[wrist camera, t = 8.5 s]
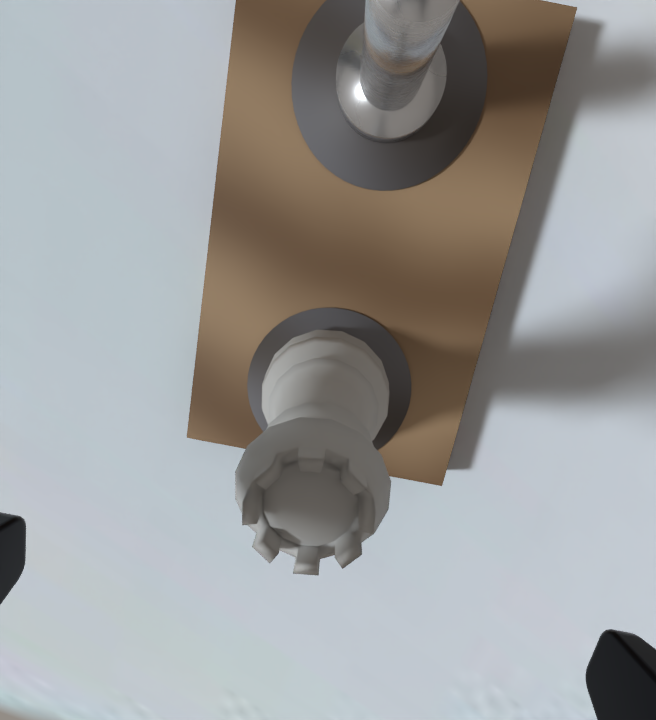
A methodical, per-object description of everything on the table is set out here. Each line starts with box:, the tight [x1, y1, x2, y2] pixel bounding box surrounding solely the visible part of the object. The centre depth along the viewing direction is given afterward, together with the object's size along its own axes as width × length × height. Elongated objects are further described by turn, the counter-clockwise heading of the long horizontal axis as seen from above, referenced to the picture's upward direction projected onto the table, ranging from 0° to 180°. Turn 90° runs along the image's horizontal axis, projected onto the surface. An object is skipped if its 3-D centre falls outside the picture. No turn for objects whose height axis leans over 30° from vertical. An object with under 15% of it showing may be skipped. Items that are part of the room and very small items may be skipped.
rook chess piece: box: [235, 330, 391, 575], centre depth 12 cm, size 4×4×8 cm
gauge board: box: [187, 0, 577, 486], centre depth 15 cm, size 16×10×1 cm, turn 169°
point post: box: [336, 0, 460, 143], centre depth 10 cm, size 3×3×6 cm
